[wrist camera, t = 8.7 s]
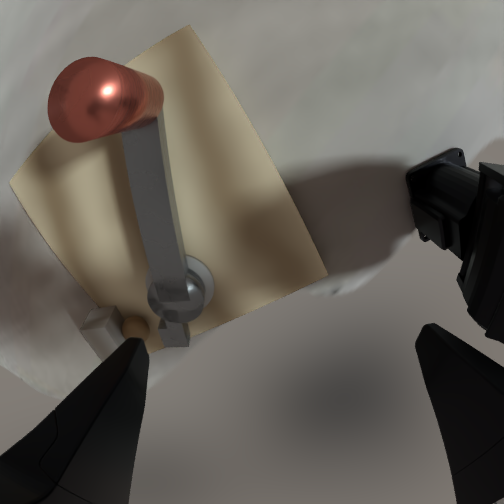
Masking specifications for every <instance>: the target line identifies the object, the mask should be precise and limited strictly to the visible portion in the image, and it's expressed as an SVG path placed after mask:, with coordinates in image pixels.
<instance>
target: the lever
mask: <svg viewBox="0 0 504 504" xmlns="http://www.w3.org/2000/svg"><path fill="white" fill-rule="evenodd" d="M163 103H164V92H163V89H162V86H161V84H160V83H159V82H158V81H157V80H156V79H155V78H154V77H152V76H150V75H148V74H145V73H142V72H140V71H137V70H134V69H131V68H129V67H126V66H123V65H120V64H117V63H114V62H111V61H108V60H104V59H101V58H98V57H86V58H82V59H79V60H76V61H74V62H73V63H71V64H70V65H68V66H67V67H66V68H65V69H64V70H63V71H62V72H61V73H60V74H59V76H58V77H57V79H56V80H55V82H54V84H53V86H52V88H51V91H50V94H49V99H48V117H49V120H50V123H51V126H52V128H53V129H54V131H55V132H56V133H57V135H59V136H60V137H61V138H62V139H64V140H66V141H68V142H72V143H82V142H87V141H90V140H94V139H98V138H101V137H105V136H109V135H113V134H117V133H121V134H122V141H123V148H124V154H125V160H126V166H127V172H128V177H129V182H130V188H131V193H132V197H133V202H134V207H135V211H136V216H137V220H138V225H139V229H140V233H141V237H142V241H143V245H144V249H145V253H146V256H147V260H148V264H149V267H150V271H151V274H152V278H153V280H152V282H151V285H150V287H149V290H148V293H147V301H148V304H149V306H150V308H151V309H152V311H153V312H154V313H155V314H156V315H157V316H159V317H160V318H161V319H160V322H159V326H158V332H159V334H160V337H161V340H162V342H163V345H164V347H189V341H190V334H191V333H190V330H189V326H188V323H187V322H190V321H193V320H194V319H196V318H197V317H198V316H199V315H200V314H201V312H202V310H203V307H204V300H205V293H206V289H205V284H204V282H203V280H202V279H201V277H200V276H199V275H198V274H197V273H196V272H194V271H193V270H191V269H189V267H188V263H187V258H186V253H185V248H184V243H183V238H182V232H181V227H180V222H179V216H178V210H177V205H176V199H175V193H174V186H173V180H172V174H171V167H170V160H169V153H168V145H167V138H166V130H165V121H164V112H163Z"/></svg>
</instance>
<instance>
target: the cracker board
mask: <svg viewBox="0 0 504 504" xmlns="http://www.w3.org/2000/svg"><path fill="white" fill-rule="evenodd" d="M125 66H126V67H129V68H131V69H134V70H137V71H140V72H142V73H145V74H148V75H150V76H152V77H154V78H155V79H156V80H157V81H158V82H159V83H160V84H161V86H162V89H163V92H164V103H163V112H164V121H165V130H166V138H167V145H168V153H169V160H170V167H171V174H172V180H173V186H174V193H175V199H176V205H177V210H178V216H179V222H180V227H181V232H182V238H183V243H184V248H185V253H186V258H187V263H188V267H189V269H191V270H193V271H194V272H196V273H197V274H198V275H199V276H200V277H201V279H202V280H203V282H204V284H205V289H206V293H205V300H204V307H203V310H202V312H201V314H200V315H199V316H198V317H197V318H196V319H194V320H193V321H190V322H187V323H188V326H189V330H190V333H191V334H190V337H193V336H195V335H198V334H200V333H202V332H205V331H207V330H210V329H212V328H214V327H217V326H219V325H222V324H224V323H226V322H229V321H231V320H233V319H235V318H238V317H240V316H242V315H245V314H247V313H249V312H251V311H254V310H256V309H258V308H260V307H263V306H265V305H267V304H269V303H271V302H273V301H276V300H278V299H280V298H282V297H284V296H286V295H289V294H291V293H293V292H295V291H297V290H299V289H301V288H303V287H305V286H307V285H309V284H312V283H314V282H316V281H318V280H320V279H322V278H324V277H326V276H328V273H327V270H326V268H325V266H324V264H323V262H322V259H321V257H320V255H319V253H318V251H317V249H316V247H315V245H314V242H313V240H312V238H311V236H310V234H309V232H308V230H307V228H306V226H305V224H304V222H303V220H302V218H301V216H300V214H299V212H298V210H297V208H296V206H295V204H294V202H293V200H292V198H291V196H290V194H289V192H288V190H287V188H286V186H285V184H284V182H283V180H282V179H281V177H280V175H279V173H278V171H277V169H276V167H275V165H274V164H273V162H272V160H271V158H270V156H269V154H268V152H267V151H266V149H265V147H264V145H263V143H262V142H261V140H260V138H259V136H258V134H257V133H256V131H255V129H254V127H253V126H252V124H251V122H250V120H249V119H248V117H247V115H246V113H245V112H244V110H243V108H242V107H241V105H240V103H239V102H238V100H237V98H236V97H235V95H234V93H233V92H232V90H231V88H230V87H229V85H228V83H227V82H226V80H225V78H224V77H223V75H222V74H221V72H220V70H219V69H218V67H217V66H216V64H215V62H214V61H213V59H212V58H211V56H210V55H209V53H208V52H207V50H206V48H205V47H204V45H203V44H202V42H201V41H200V39H199V38H198V36H197V35H196V33H195V32H194V30H193V29H192V27H191V26H190V25H187V26H185V27H184V28H182V29H180V30H178V31H177V32H175V33H173V34H171V35H170V36H168V37H166V38H165V39H163V40H161V41H160V42H158V43H157V44H155V45H153V46H152V47H150V48H149V49H147V50H146V51H144V52H143V53H141V54H140V55H139V56H137V57H136V58H134V59H133V60H131V61H130V62H129V63H127V64H126V65H125ZM9 183H10V185H11V187H12V189H13V190H14V192H15V194H16V196H17V197H18V199H19V201H20V202H21V204H22V206H23V207H24V209H25V210H26V212H27V214H28V215H29V217H30V218H31V220H32V221H33V223H34V224H35V226H36V227H37V229H38V230H39V232H40V233H41V235H42V236H43V237H44V239H45V240H46V242H47V243H48V245H49V246H50V247H51V249H52V250H53V251H54V253H55V254H56V255H57V257H58V258H59V259H60V261H61V262H62V263H63V265H64V266H65V267H66V268H67V270H68V271H69V272H70V273H71V275H72V276H73V277H74V278H75V280H76V281H77V282H78V283H79V284H80V286H81V287H82V288H83V289H84V290H85V292H86V293H87V294H88V295H89V296H90V297H91V298H92V300H93V301H94V302H95V303H96V304H97V305H98V306H99V307H100V308H97V309H91V311H90V313H89V314H88V316H87V318H86V320H85V322H84V323H83V325H82V327H81V329H80V332H81V333H82V335H83V336H84V338H85V339H86V341H87V342H88V343H89V345H90V346H91V347H92V349H93V350H94V352H95V353H96V354H97V356H98V357H99V358H100V359H101V361H102V362H103V361H104V360H105V359H106V358H107V357H108V356H109V355H110V354H111V353H113V352H114V351H115V350H116V349H117V348H118V347H119V346H120V345H121V344H122V343H123V342H124V341H125V340H126V339H127V338H129V337H140V338H142V339H143V340H144V343H145V346H146V349H147V352H148V354H149V353H152V352H155V351H157V350H160V349H163V348H165V347H164V345H163V342H162V340H161V337H160V334H159V332H158V326H159V322H160V319H161V318H160V317H159V316H157V315H156V314H155V313H154V312H153V311H152V309H151V308H150V306H149V304H148V301H147V293H148V290H149V287H150V285H151V282H152V280H153V278H152V274H151V271H150V267H149V264H148V260H147V256H146V253H145V249H144V245H143V241H142V237H141V233H140V229H139V225H138V220H137V216H136V211H135V207H134V202H133V197H132V193H131V188H130V182H129V177H128V172H127V166H126V160H125V154H124V148H123V141H122V134H121V133H117V134H113V135H109V136H105V137H101V138H98V139H94V140H90V141H87V142H82V143H72V142H68V141H66V140H64V139H62V138H61V137H60V136H59V135H57V133H56V132H55V131H54V129H53V130H52V131H51V132H50V133H49V134H48V135H47V136H46V137H45V138H44V140H43V141H42V142H41V143H40V144H39V145H38V146H37V148H36V149H35V150H34V151H33V152H32V154H31V155H30V156H29V157H28V158H27V160H26V161H25V162H24V163H23V165H22V166H21V167H20V169H19V170H18V171H17V173H16V174H15V175H14V177H13V178H12V179H11V181H10V182H9Z"/></svg>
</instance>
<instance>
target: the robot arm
mask: <svg viewBox="0 0 504 504" xmlns="http://www.w3.org/2000/svg"><path fill="white" fill-rule="evenodd" d="M458 153H459V156H458ZM479 171H480V172H479ZM479 171H475V170H474V169H471V168H469V167H466V162H465V157H464V152H463V150H462V149H460V148H455V149H453V150H451V151H449V152H447V153H445V154H443V155H441V156H439V157H437V158H435V159H433V160H431V161H429V162H427V163H425V164H423V165H421V166H419V167H417V168H415V169H413V170H411V171H409V172H408V173H407V174H406V182H407V186H408V189H409V193H410V197H411V201H410V204H411V208H412V212H413V217H414V221H415V226H416V228H417V229H418V231H419V236H420V239H421V240H422V241H424V242H427V241H429V240H432V241H433V242H434V243H435V244H436V245H437V246H439V247H440V248H441V249H443V250H446V249H449V250H450V251H451V252H453V253H454V254H455V255H456V256H457V257H458V258H459V259H461V260H462V261H463V263H462V267H461V270H460V273H458V276H457V282H458V285H459V287H460V289H461V291H462V293H463V297H464V299H465V301H466V303H467V305H468V308H467V312H468V313H469V315H470V316H471V317H472V318H473V319H474V321H476V322H477V324H478V325H479V326H481V327H482V328H483V329H485V330H486V333H485V336H486V337H487V338H490V339H494V340H497V341H500V342H501V343H503V344H504V165H498V164H491V163H484V162H479ZM412 176H413V179H412V180H411V177H412ZM425 235H426V236H425ZM424 236H425V237H424ZM415 348H416V352H417V355H418V359H419V363H420V366H421V370H422V374H423V378H424V381H425V385H426V388H427V391H428V394H429V397H430V400H431V403H432V406H433V409H434V412H435V415H436V418H437V421H438V425H439V428H440V432H441V435H442V439H443V442H444V446H445V449H446V453H447V458H448V462H449V466H450V470H451V475H452V480H453V485H454V491H455V496H456V501H457V504H493V503H494V504H504V367H502V366H501V365H499V364H498V363H496V362H495V361H493V360H492V359H490V358H489V357H487V356H486V355H484V354H483V353H481V352H480V351H478V350H476V349H475V348H473V347H472V346H470V345H469V344H467V343H466V342H464V341H462V340H461V339H459V338H458V337H456V336H454V335H453V334H451V333H450V332H448V331H447V330H445V329H443V328H441V327H440V326H439V325H437V324H435V323H431V324H426V325H424V326H423V328H422V330H421V332H420V334H419V336H418V338H417V340H416V342H415ZM148 370H149V355H148V352H147V349H146V346H145V343H144V340H143V339H142V338H140V337H129V338H127V339H126V340H125V341H124V342H123V343H122V344H121V345H120V346H119V347H118V348H117V349H116V350H115V351H114V352H113V353H111V354H110V355H109V356H108V357H107V358H106V359H105V360H104V361H103V362H102V363H101V364H100V365H99V366H98V367H97V368H96V369H95V370H94V371H93V372H92V373H91V374H90V375H89V376H87V377H86V378H85V379H84V380H83V381H82V382H81V383H80V384H79V385H78V386H77V387H76V388H75V389H74V390H73V391H72V392H71V393H70V394H69V395H68V396H67V397H66V398H65V399H64V400H63V401H62V402H61V403H60V404H59V405H58V406H57V407H56V408H55V410H53V411H52V412H51V413H50V414H49V415H48V416H47V417H46V418H45V419H44V420H43V421H41V422H40V423H39V424H38V425H37V426H36V427H35V428H34V429H33V430H32V431H30V432H29V433H28V434H27V435H26V436H24V437H23V438H22V439H21V440H19V441H18V442H17V443H16V444H15V445H13V446H12V447H11V448H10V449H8V450H7V451H6V452H4V453H3V454H2V455H1V456H0V504H128V502H129V494H130V488H131V481H132V474H133V468H134V461H135V456H136V450H137V444H138V439H139V433H140V428H141V423H142V418H143V413H144V408H145V400H146V389H147V379H148Z"/></svg>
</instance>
